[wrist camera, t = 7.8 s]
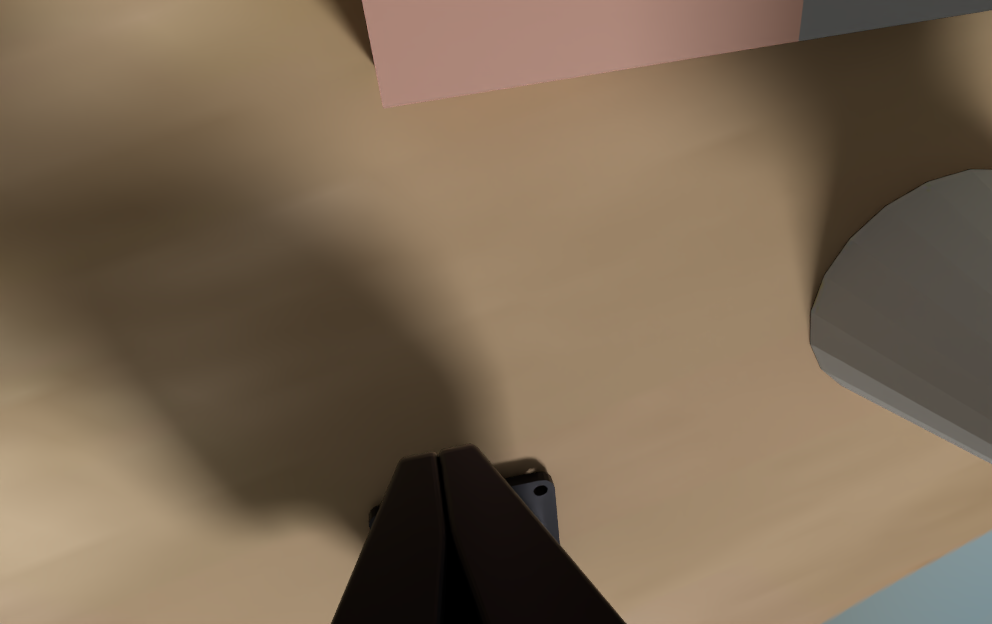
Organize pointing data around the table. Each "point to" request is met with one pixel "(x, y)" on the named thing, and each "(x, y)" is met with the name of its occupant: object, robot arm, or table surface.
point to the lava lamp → (917, 310)
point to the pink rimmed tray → (596, 36)
